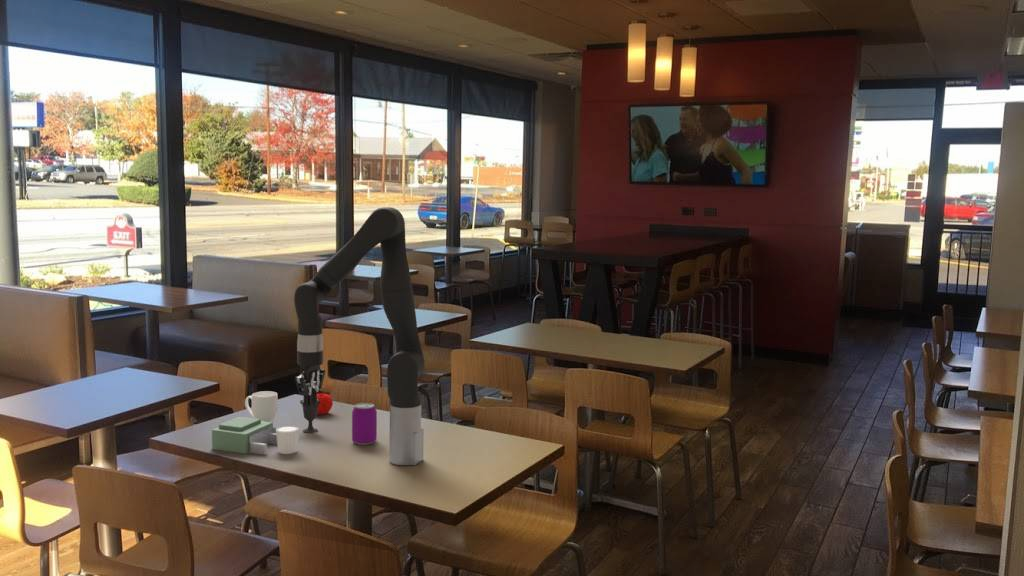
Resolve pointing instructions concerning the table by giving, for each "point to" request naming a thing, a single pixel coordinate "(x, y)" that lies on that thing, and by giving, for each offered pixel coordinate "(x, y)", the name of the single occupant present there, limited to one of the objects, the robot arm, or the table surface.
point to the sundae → (310, 416)
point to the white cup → (287, 439)
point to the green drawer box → (237, 434)
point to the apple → (324, 403)
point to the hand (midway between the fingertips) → (310, 405)
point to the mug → (263, 405)
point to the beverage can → (364, 424)
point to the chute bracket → (261, 441)
